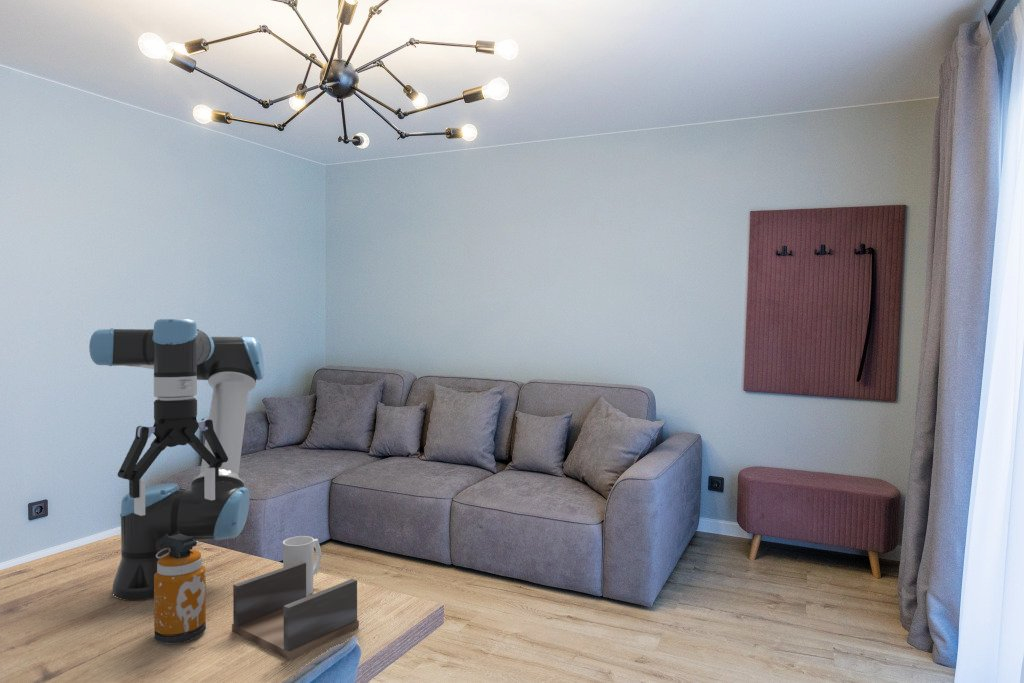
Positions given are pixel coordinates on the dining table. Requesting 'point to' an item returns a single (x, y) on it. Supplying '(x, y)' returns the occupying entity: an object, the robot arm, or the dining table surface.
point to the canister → (179, 590)
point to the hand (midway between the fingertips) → (176, 506)
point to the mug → (303, 556)
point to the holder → (292, 611)
